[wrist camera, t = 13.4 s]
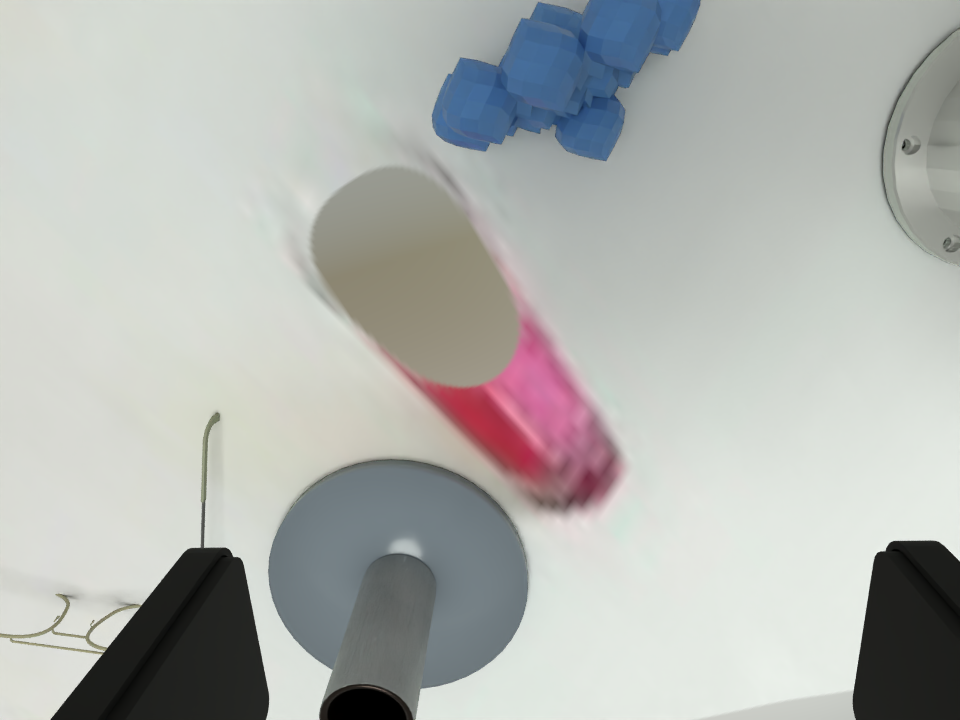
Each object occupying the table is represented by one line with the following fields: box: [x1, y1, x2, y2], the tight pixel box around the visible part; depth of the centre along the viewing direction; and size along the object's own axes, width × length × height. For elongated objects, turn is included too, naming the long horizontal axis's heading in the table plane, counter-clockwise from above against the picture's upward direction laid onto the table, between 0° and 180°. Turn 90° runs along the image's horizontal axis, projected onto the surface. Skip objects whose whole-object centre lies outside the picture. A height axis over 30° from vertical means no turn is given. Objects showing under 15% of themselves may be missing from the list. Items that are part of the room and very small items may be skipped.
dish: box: [268, 460, 528, 689], centre depth 43 cm, size 16×16×1 cm
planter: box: [319, 555, 436, 720], centre depth 37 cm, size 4×4×10 cm
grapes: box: [432, 0, 700, 161], centre depth 28 cm, size 12×7×12 cm, turn 117°
